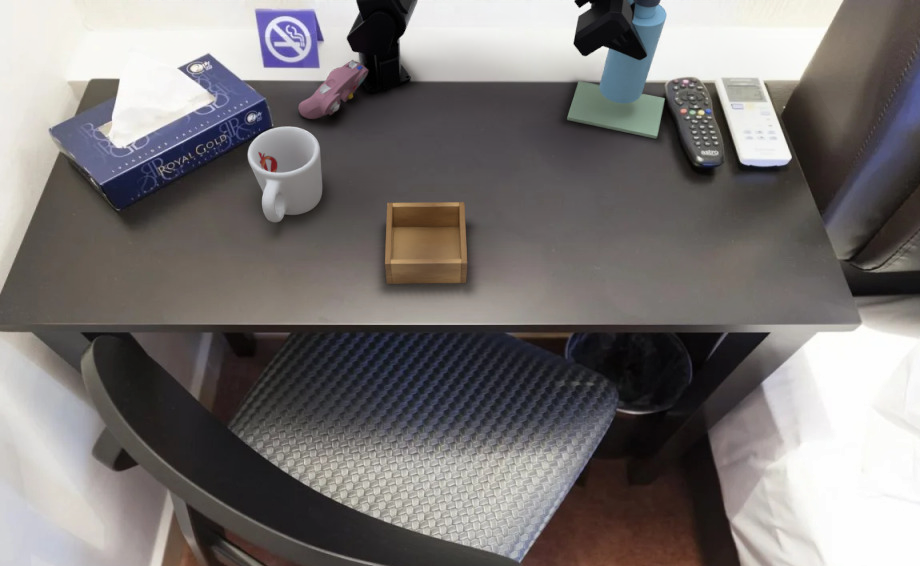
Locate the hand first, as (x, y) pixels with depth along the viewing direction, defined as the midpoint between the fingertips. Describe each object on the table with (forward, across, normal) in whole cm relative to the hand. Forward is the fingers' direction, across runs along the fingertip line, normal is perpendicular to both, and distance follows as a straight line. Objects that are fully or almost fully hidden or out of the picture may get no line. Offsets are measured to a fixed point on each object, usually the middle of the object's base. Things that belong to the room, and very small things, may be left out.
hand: (645, 43), depth 82 cm
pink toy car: (-19, -8, +35) cm, 41 cm away
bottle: (+4, 0, +6) cm, 7 cm away
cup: (-19, -27, +34) cm, 48 cm away
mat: (+7, 0, +8) cm, 11 cm away
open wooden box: (-7, -30, +22) cm, 38 cm away
